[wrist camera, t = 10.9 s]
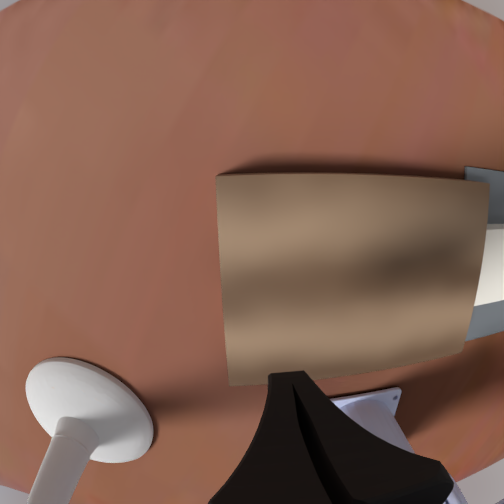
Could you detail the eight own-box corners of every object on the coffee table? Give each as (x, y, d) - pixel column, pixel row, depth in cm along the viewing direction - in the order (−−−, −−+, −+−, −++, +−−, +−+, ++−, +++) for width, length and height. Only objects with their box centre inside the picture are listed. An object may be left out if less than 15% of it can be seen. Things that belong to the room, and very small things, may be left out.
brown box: (443, 335, 24) (461, 352, 21) (229, 360, 23) (229, 386, 20) (464, 179, 20) (489, 183, 17) (218, 174, 19) (215, 176, 16)
